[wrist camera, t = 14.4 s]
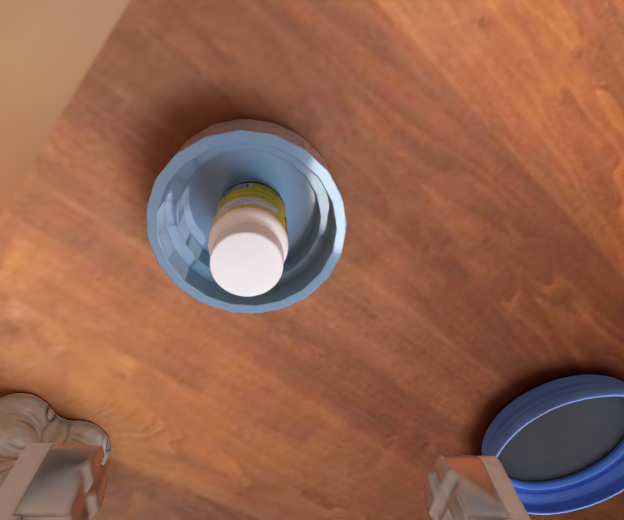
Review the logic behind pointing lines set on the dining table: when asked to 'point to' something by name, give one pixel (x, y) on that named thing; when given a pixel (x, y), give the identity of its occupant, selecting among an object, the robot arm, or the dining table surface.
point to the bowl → (562, 443)
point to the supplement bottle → (248, 239)
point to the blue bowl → (205, 200)
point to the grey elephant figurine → (39, 429)
